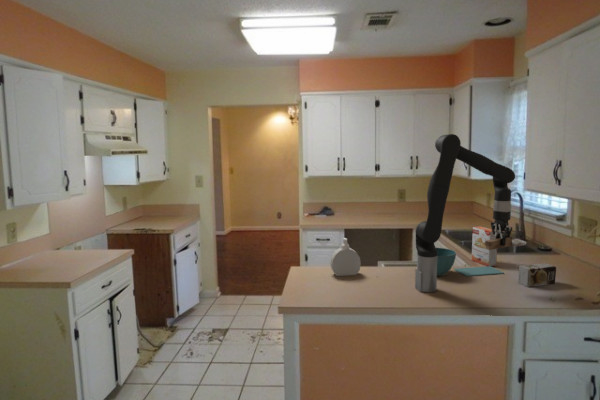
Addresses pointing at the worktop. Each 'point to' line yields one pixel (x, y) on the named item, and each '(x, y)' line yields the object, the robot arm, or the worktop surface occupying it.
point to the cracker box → (483, 246)
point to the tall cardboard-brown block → (509, 242)
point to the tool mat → (478, 271)
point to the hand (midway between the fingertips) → (500, 244)
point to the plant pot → (444, 260)
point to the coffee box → (537, 275)
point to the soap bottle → (345, 261)
